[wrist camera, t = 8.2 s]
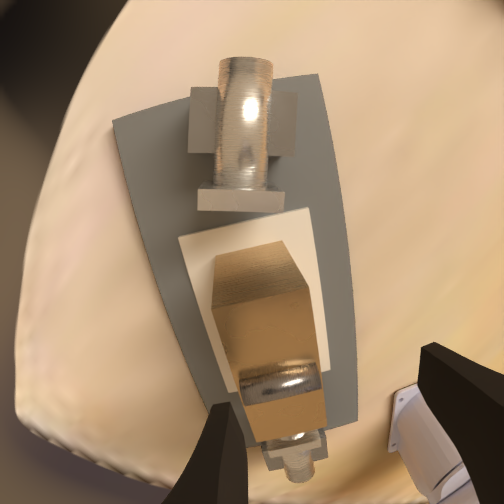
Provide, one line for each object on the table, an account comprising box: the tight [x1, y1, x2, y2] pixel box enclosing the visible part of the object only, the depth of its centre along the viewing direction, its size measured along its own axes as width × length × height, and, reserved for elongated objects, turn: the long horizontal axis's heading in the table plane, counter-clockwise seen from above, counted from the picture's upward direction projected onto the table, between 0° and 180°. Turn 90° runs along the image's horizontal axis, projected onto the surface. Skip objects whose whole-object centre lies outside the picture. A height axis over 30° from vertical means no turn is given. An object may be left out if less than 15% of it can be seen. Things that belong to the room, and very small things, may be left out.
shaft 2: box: [261, 428, 328, 483], centre depth 20 cm, size 6×4×5 cm
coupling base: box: [112, 74, 358, 448], centre depth 19 cm, size 25×11×1 cm, turn 12°
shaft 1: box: [188, 57, 298, 213], centre depth 13 cm, size 6×4×5 cm
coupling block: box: [211, 240, 327, 442], centre depth 15 cm, size 4×8×7 cm, turn 12°
